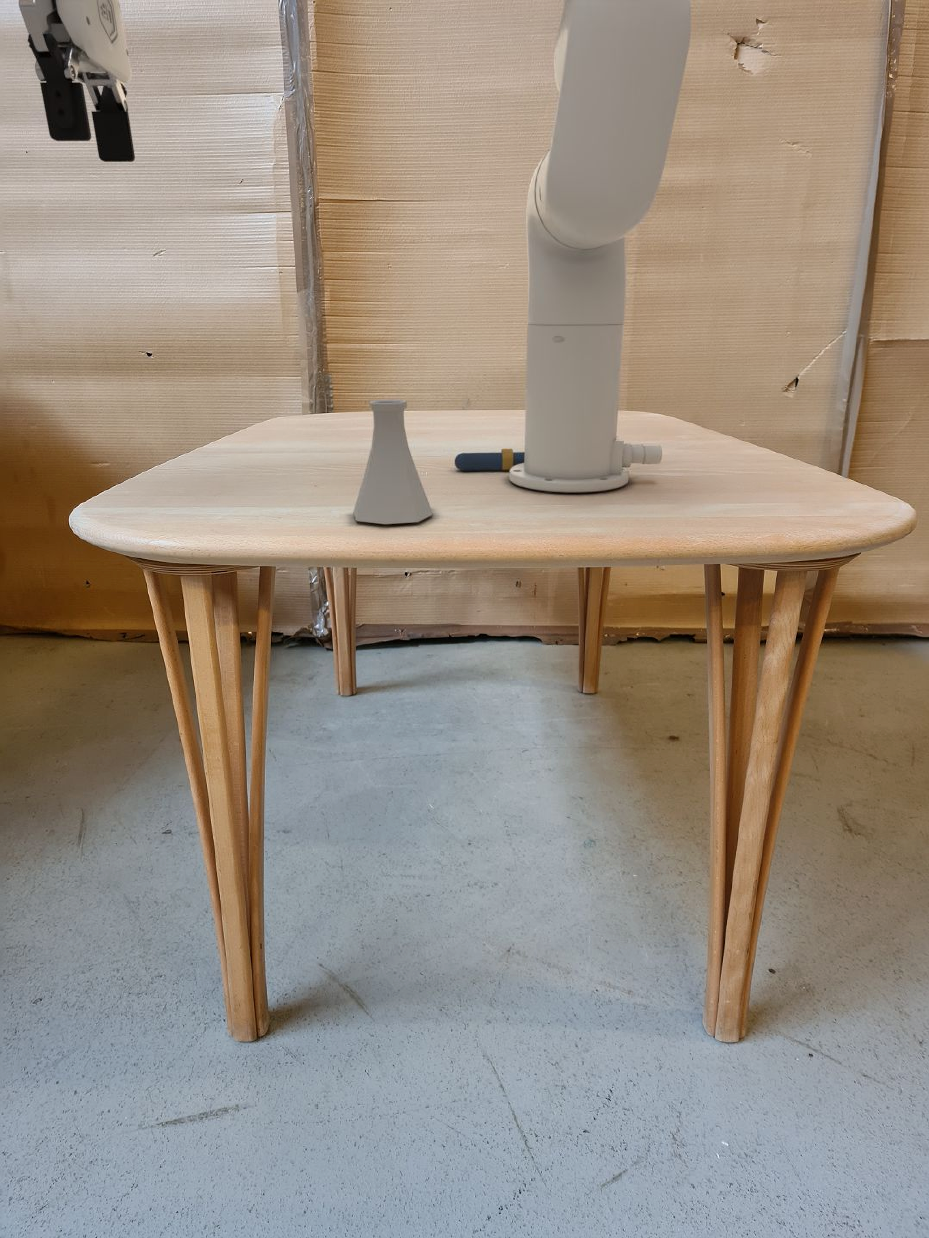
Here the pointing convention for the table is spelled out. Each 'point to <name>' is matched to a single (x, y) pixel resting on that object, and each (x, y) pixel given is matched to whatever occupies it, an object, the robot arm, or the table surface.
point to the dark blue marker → (489, 460)
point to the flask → (390, 472)
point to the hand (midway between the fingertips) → (96, 151)
